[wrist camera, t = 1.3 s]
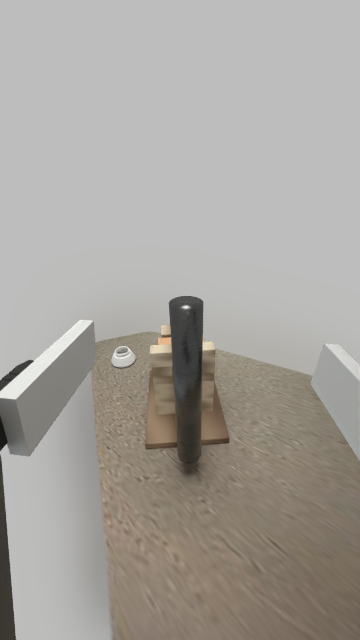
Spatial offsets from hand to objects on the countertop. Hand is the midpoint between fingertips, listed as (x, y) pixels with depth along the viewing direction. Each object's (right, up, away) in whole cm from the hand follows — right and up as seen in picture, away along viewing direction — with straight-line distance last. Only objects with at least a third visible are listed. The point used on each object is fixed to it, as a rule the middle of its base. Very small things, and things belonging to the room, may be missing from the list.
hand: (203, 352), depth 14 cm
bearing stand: (-1, -12, +29) cm, 31 cm away
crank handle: (-1, -11, +24) cm, 27 cm away
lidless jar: (-14, -7, +40) cm, 43 cm away
